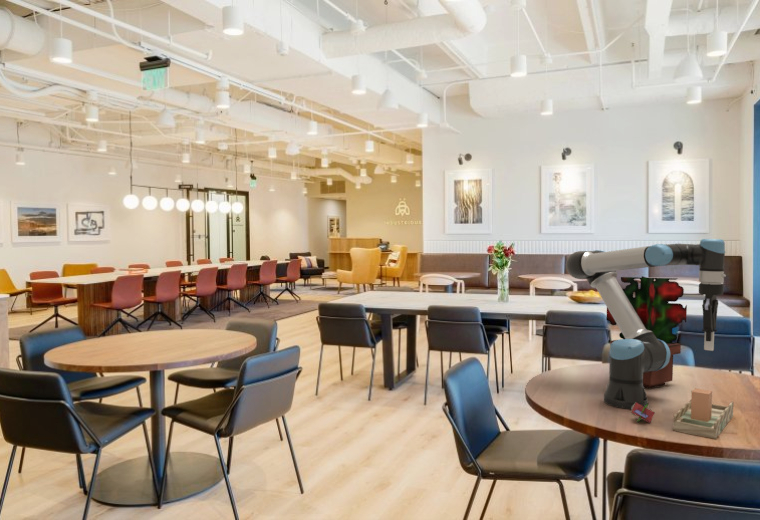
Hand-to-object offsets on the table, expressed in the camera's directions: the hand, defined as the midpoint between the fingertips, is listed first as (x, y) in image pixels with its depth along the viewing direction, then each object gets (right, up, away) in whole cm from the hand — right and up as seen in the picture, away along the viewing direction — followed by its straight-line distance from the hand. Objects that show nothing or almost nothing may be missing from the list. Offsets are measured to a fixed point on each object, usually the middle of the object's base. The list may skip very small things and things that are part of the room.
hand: (708, 349), depth 204 cm
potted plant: (-4, -21, +42) cm, 47 cm away
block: (-10, -20, -13) cm, 26 cm away
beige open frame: (-7, -23, -9) cm, 26 cm away
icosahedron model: (-27, -23, -8) cm, 36 cm away
